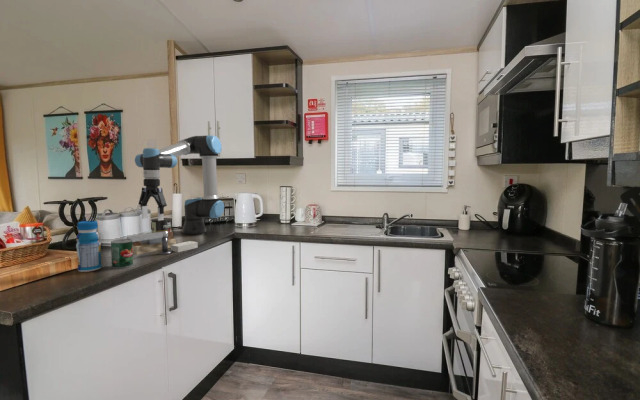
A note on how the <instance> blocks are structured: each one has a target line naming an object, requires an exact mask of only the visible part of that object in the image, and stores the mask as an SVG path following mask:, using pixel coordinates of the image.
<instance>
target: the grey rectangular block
mask: <svg viewBox="0 0 640 400" xmlns="http://www.w3.org/2000/svg"><path fill="white" fill-rule="evenodd" d="M141 243H142V244H148V245H151V244H156V243H162V238H156V239H149V240H143V241H141Z"/></svg>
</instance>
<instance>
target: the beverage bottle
mask: <svg viewBox="0 0 640 400" xmlns="http://www.w3.org/2000/svg"><path fill="white" fill-rule="evenodd" d="M76 227H77V231H78V234H77V235H76V238H75V241H76V244H75V248H76V255H77V257H76V258H77V271H78V272H79V273H80V272H81V273H83V272H84V273H88V272H94V271H97V270H100V269H102V254H101V253H102V251H101V246H102V242H101V235H100V234H99V232H98V231H97V230H98V228H99V225H98V221H97V220H85V221H79V222H77V226H76Z"/></svg>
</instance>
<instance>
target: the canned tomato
mask: <svg viewBox="0 0 640 400" xmlns="http://www.w3.org/2000/svg"><path fill="white" fill-rule="evenodd" d="M132 245H133V242H132V240H131V239H127V238H120V239H115V240H111V242H110V249H111V251H110V252H111V253H110V254H111V268H112V269H125V268H129V267H132V266H133V265H134V254H133V251H132Z"/></svg>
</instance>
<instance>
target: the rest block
mask: <svg viewBox="0 0 640 400" xmlns="http://www.w3.org/2000/svg"><path fill="white" fill-rule="evenodd" d="M198 245H199V244H198V241H193V240H188V241H184V242H183V241H182V242H179V243H176V244H174V245H171V248H170V251H172V252H175V253H181V252H186V251H189V250H190V251H191V250H194V249H197V248H199V246H198Z"/></svg>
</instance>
